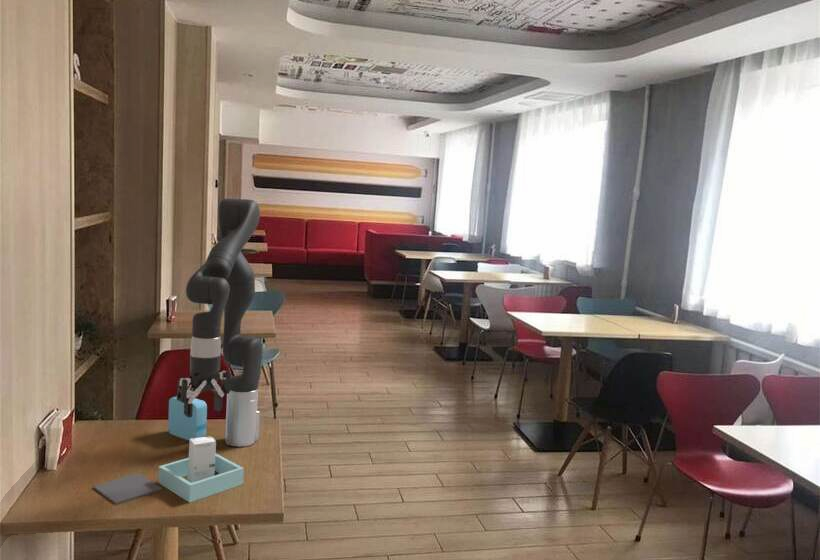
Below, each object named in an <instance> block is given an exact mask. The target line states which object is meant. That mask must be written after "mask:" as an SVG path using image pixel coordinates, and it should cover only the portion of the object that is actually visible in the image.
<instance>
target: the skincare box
mask: <svg viewBox="0 0 820 560" xmlns="http://www.w3.org/2000/svg"><path fill="white" fill-rule="evenodd" d="M188 441H189V443H188V444H189V446H188V447H189V448H188V458H189V461H188V475H187V481H189V482H191V483H193V482H196V481H200V480H203V479H206V478H209V477H212V476H215V453H216V452H217V451H216V450H217V449H216V447H217V441H216V439H215V438H214V437H212V436H205V437H199V438H193V439H190V440H188Z"/></svg>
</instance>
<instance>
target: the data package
mask: <svg viewBox="0 0 820 560" xmlns="http://www.w3.org/2000/svg"><path fill="white" fill-rule="evenodd" d="M192 404H193V411H192V417H190V418H188V417H186V415H184V403H182V402H180V401H178V400H177V395H176V396H173V397H171V398H169V400H168V428H167V430H168V433H169V434H170V435H171V434H172V435H171V436H174V435H175V437H177V438H180V439H183V440H186V441H189V440H190V439H193V438H199V437H207V418H208V412H207V411H208V405H207V403H206V401H204V400H203V399H202V400H201V399H198V398H197V397H195V398H194V400H193V402H192Z"/></svg>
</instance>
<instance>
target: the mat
mask: <svg viewBox="0 0 820 560" xmlns="http://www.w3.org/2000/svg"><path fill="white" fill-rule="evenodd" d="M92 487H93V489H94V490H96V491H97V492H99V494H101V495H102V496H104V497H105V498H106V499H108V500H109V501H111V502H112V503H113V504H114V505H119V504H122V503H125V502H130V501H132V500H134V499H138V498H141V497H144V496H149V495H151V494H154V493H157V492H160V491H162V490H163V488H162V487H160V486H159V485H157V484H156V483H154V482H153V481H151V480H150V479H149V478H147V477H145V476H144V475H142V474H141V473H139V472H137V473H135V474H131V475H127V476H124V477H123V476H122V477H121V478H117V479H114V480H110V481H107V482H102V483H99V484H96V485H93V486H92Z"/></svg>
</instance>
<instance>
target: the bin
mask: <svg viewBox="0 0 820 560" xmlns="http://www.w3.org/2000/svg"><path fill="white" fill-rule="evenodd" d="M188 461H189V457H187V458H183V459H179V460H176V461H172V462H169V463H166V464H162V465H159V466H158V476H157V477H158V479H157V483H158V484H160V485H161V486H162V487H164V488H166V489H167V490H169V491H170V492H172V493H174V494H175V495H177V496H179V497H180V498H181V499H184V500H185V501H186V502H188V503H193V502H195V501H198V500H202V499H205V498H207V497H210V496H214V495H216V494H219V493H222V492H225V491H227V490H231V489H233V488H236V487H240V486H242V485H244V478H245V477H244V476H245V475H244V473H245V468H244V467H243V466H240V465H239V464H237V463H234V462H233V461H231V460H229V459H227V458H226V457H223V456H222V455H220V454H218V453H216V452H215V471H216V472H215V471H214V472H215V473H217V472H218V473H217V474H216V475H215V474H214V476H212V477H209V478H206V479H203V480H200V481H196V482H193V483H191V482H189V481H188V479H186V478H184V477H186V476H187V477H188Z"/></svg>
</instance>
